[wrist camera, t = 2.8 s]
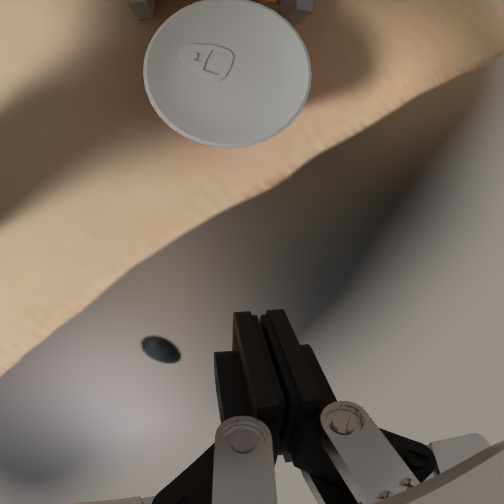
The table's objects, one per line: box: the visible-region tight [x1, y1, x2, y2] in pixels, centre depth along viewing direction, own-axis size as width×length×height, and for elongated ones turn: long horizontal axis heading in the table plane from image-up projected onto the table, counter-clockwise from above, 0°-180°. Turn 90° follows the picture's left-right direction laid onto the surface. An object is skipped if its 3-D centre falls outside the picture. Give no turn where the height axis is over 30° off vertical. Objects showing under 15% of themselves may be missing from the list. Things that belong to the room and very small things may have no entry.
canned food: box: [143, 0, 312, 148], centre depth 17 cm, size 8×8×11 cm
